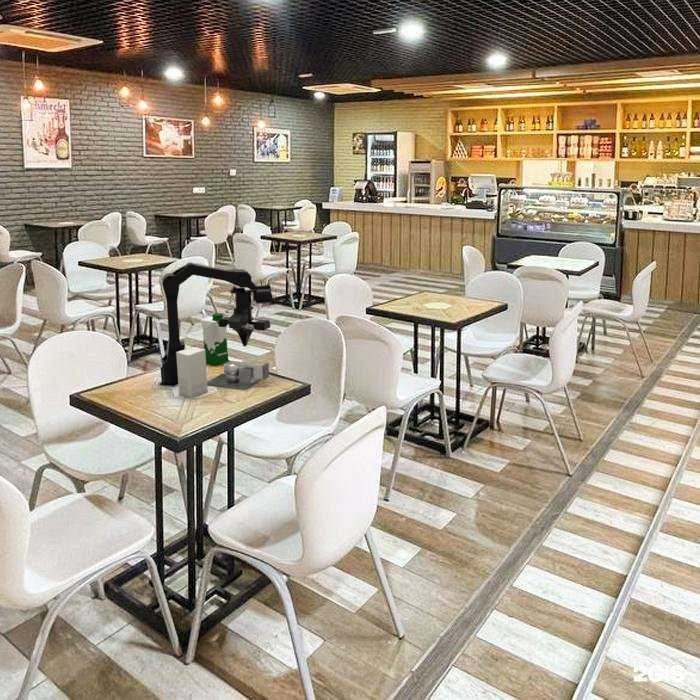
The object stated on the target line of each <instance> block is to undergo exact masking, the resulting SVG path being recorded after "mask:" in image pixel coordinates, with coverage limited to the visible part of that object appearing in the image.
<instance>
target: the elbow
mask: <svg viewBox="0 0 700 700" xmlns="http://www.w3.org/2000/svg"><path fill="white" fill-rule="evenodd" d="M269 368H270V365H269V362H265V363H261V362H246V361H243V362H241V361H236V360H232V361H230V360H229V362H226V363H224V364H223V374H238V373H240V369H251V378H259V379H262V381H266V380H267V379H269V377H270V369H269Z"/></svg>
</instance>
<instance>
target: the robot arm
mask: <svg viewBox="0 0 700 700" xmlns="http://www.w3.org/2000/svg"><path fill="white" fill-rule="evenodd" d="M192 276H196V277H203V278H209V279H214V280H219V281H225V282H227V283H229V284H232V285H233V286H232V287H231V288H230V290H229V293H230V294H232V295H233V294H234V296H235V297H234V298H235V300H234V301H235V307H234V308H233V312H232V313H233V314H231V315H230V316H223V318H221V319H219V321H218V326H219V327H226V326H227V327H229V329H232V331H234V332H236V333H237V335H238V337H239V338H240V341H241V343H242V346H243V347H248V343H249V341H250V338H251V336H252V334H253V332H254V330H255V331H261V332H262V331H266V330H268V329H270V328H271V322H270V319H258V320H256V321H254V319H255V318H254V317H253V316H252V314H253V313H252V310H254V306H252V302H255V304H256V305H259V304H272V303H273V293H272V286H271V285H270V284H262V285H261V284H260V285H259V284H258V285H256V284H255V283H254V282H253V281H252V275H251V274H250V273H249V272H248V271H247V270H246V269H243V268H242V269H241V268H231V269H226V268H225V269H224V268H219V267H213V266H210V265H209V266H208V265H203V264H197V263H193V262H187V263H186V264H185V265H183V266H181V267H179V268H178V269H176V270H174V271H172V272H167V273H165V274H164V275H163V276H162V278H161V285H162V288H163V292H164V295H165V301H166V313H167V314H166V316H167V330H168V331H167V332H168V339H167V340H168V341H167V345H166V354H164V355H163V357H162V358H161V359H160V361H161V366H160V367H159V369H160V378H161V381H160V382H159V383H158V385H159V386H167V387H168V386H169V387H176V386H179V385H178V370H177V356H176V352H178V351H182V350H185V349H186V345H185V341H184V340H181V339H180V327H179V323H180V322H179V311H178V297H179V291H180V285H182V284H183V283H184V282H186V281H187V280H188V279H189V278H191V277H192ZM236 286H237V287H236ZM246 288H247V289H246Z"/></svg>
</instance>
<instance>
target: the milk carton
mask: <svg viewBox="0 0 700 700" xmlns="http://www.w3.org/2000/svg"><path fill="white" fill-rule="evenodd" d="M223 317H224V315H223V313H220V312H219V313H218V312H217V313H212V316H209V317H205V318H202V319H200V324H201V328H202V333H203V334H202V335H203V336H202V338H203V349H205V354H206V365H209V366H212V367H213V366H214V367H217V366H218V367H219V366H221V365H224V363H226V362H230V360H229V352H228V332H227V331H228V330H227V327H228V325H227V326H226V327H219V326H218V321H219V319H221V318H223Z"/></svg>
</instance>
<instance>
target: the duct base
mask: <svg viewBox="0 0 700 700" xmlns="http://www.w3.org/2000/svg"><path fill="white" fill-rule="evenodd" d="M259 382H261V379H259V378H251V369H240V373H238V374H226V373H220V374H218V375H217V376H215V377H213V378H212V379H210V380H207V387H215V388H225V389H232V390H241V391H247V390H248V389H250V388H251V387H253V386H254V385H256V384H258V383H259Z"/></svg>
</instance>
